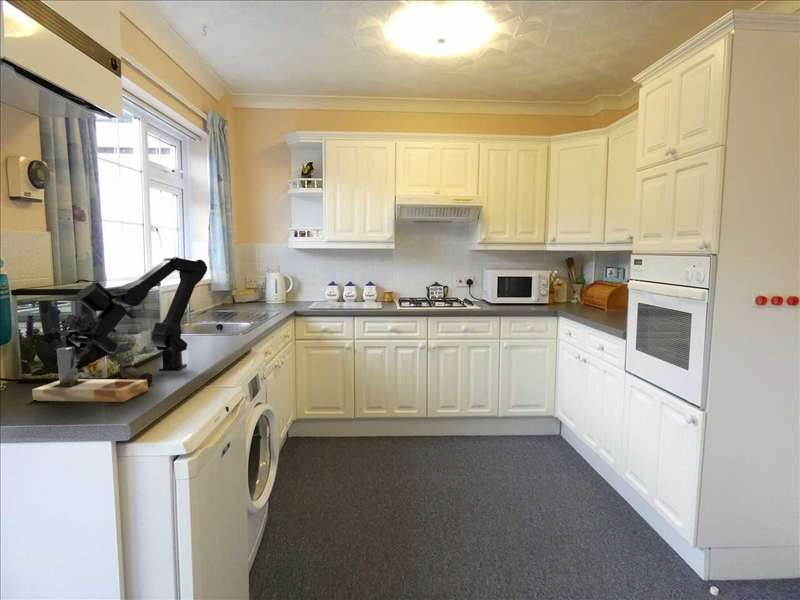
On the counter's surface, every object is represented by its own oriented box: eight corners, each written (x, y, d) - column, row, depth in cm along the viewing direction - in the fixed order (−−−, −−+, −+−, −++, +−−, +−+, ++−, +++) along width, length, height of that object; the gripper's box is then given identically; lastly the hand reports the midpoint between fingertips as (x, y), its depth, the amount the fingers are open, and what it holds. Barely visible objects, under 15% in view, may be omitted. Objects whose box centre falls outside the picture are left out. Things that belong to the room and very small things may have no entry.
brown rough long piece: (153, 384, 129) (152, 369, 129) (138, 387, 126) (137, 372, 126) (131, 374, 142) (130, 360, 141) (117, 376, 139) (116, 362, 138)
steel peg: (69, 392, 122) (65, 346, 120) (82, 392, 122) (78, 347, 120) (57, 397, 118) (52, 350, 117) (71, 397, 118) (66, 350, 116)
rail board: (64, 389, 125) (63, 378, 125) (147, 390, 123) (147, 379, 123) (33, 400, 115) (32, 389, 115) (123, 401, 114) (122, 390, 113)
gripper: (65, 302, 126) (22, 347, 117) (104, 305, 118) (61, 353, 109) (96, 325, 134) (58, 369, 125) (134, 329, 126) (96, 376, 117)
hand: (67, 366), depth 119 cm, fingers open, 9 cm apart
